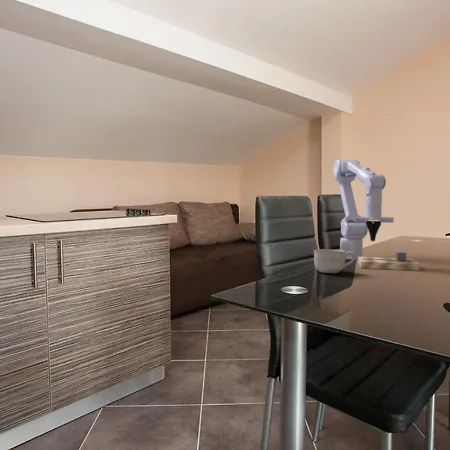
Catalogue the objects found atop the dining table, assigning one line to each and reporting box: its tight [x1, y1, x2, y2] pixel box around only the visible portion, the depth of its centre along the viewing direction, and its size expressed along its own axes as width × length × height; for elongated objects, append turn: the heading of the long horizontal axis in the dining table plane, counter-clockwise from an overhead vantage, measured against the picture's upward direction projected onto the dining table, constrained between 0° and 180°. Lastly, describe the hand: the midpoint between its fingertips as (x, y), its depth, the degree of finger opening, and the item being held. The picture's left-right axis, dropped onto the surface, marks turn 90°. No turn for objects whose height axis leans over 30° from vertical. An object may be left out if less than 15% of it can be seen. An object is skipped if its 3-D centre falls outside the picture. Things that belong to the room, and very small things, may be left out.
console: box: [357, 256, 420, 271], centre depth 154 cm, size 20×12×3 cm, turn 76°
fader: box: [395, 247, 407, 261], centre depth 152 cm, size 3×4×4 cm
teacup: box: [313, 248, 356, 274], centre depth 142 cm, size 14×11×8 cm
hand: (372, 240), depth 157 cm, fingers closed
